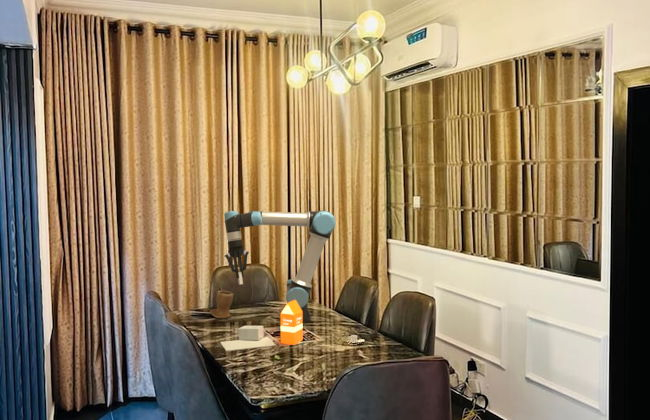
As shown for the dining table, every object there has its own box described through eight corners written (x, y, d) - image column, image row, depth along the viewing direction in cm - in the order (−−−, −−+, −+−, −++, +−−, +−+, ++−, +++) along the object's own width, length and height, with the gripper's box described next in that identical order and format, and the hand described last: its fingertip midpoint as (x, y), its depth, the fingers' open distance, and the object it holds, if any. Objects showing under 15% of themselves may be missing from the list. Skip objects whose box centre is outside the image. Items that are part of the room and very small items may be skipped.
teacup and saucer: (365, 342, 280) (365, 334, 280) (361, 347, 272) (361, 338, 272) (348, 341, 283) (348, 332, 283) (343, 345, 275) (343, 337, 275)
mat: (268, 337, 288) (268, 336, 288) (276, 345, 274) (276, 344, 274) (220, 342, 280) (220, 341, 280) (226, 351, 266) (226, 350, 266)
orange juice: (302, 340, 283) (302, 300, 282) (294, 344, 275) (294, 303, 274) (288, 338, 287) (288, 298, 286) (280, 343, 279) (279, 302, 278)
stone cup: (235, 318, 328) (235, 292, 328) (215, 320, 324) (214, 294, 323) (229, 312, 342) (228, 287, 341) (209, 314, 337) (208, 289, 337)
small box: (238, 339, 283) (258, 340, 281) (238, 328, 283) (258, 328, 281) (244, 336, 291) (264, 336, 288) (244, 325, 291) (263, 325, 288)
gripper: (244, 239, 311) (250, 282, 310) (221, 242, 306) (227, 286, 305) (248, 238, 304) (254, 282, 303) (224, 241, 299) (230, 286, 298)
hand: (241, 284), depth 304 cm, fingers closed
